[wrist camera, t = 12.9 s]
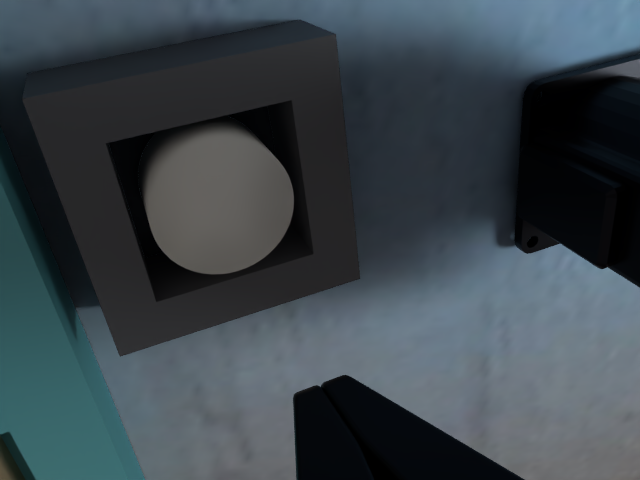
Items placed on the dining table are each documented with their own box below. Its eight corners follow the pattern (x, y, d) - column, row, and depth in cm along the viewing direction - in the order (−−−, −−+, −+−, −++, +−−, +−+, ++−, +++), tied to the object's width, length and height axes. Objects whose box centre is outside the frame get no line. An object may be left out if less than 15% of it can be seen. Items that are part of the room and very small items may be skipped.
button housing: (300, 19, 16) (335, 34, 14) (328, 240, 20) (360, 278, 18) (27, 73, 14) (21, 98, 12) (113, 306, 18) (119, 356, 16)
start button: (255, 98, 16) (282, 123, 14) (275, 215, 18) (302, 251, 16) (121, 129, 15) (130, 160, 13) (157, 248, 17) (169, 291, 15)
